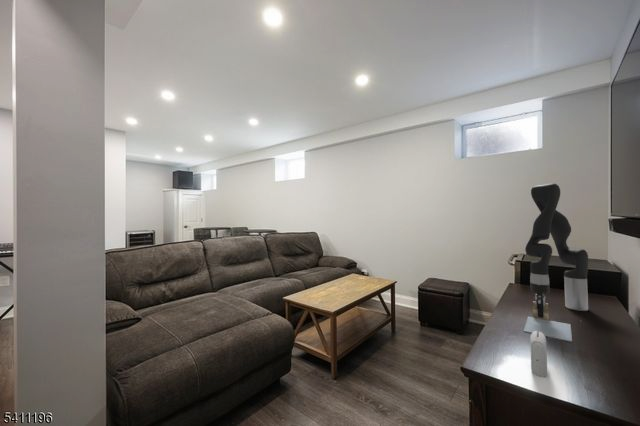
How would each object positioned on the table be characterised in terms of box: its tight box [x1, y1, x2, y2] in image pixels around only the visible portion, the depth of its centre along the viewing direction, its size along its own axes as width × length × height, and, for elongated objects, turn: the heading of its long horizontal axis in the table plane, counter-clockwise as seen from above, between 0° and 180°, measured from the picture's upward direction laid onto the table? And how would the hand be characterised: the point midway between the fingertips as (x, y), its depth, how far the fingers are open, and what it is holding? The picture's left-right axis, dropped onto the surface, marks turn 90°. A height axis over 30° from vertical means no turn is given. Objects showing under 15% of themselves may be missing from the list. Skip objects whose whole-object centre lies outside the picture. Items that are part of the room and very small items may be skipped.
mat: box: [523, 316, 573, 343], centre depth 124 cm, size 22×16×1 cm
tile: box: [532, 300, 550, 320], centre depth 135 cm, size 2×6×8 cm, turn 48°
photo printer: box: [529, 331, 548, 377], centre depth 92 cm, size 10×4×12 cm, turn 140°
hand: (540, 316), depth 135 cm, fingers closed
